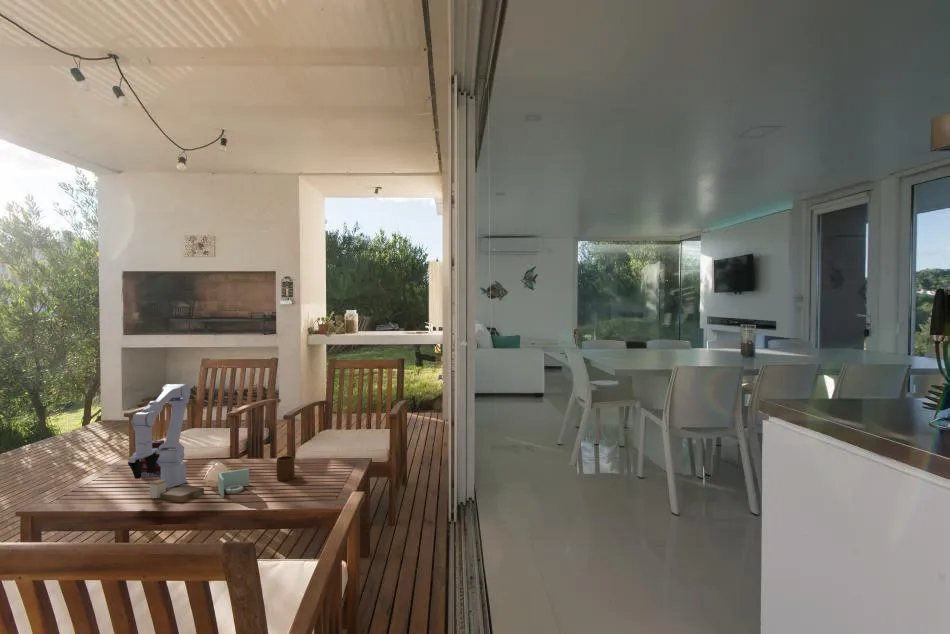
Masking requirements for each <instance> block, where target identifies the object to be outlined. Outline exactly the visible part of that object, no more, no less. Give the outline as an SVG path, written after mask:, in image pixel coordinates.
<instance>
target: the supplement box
mask: <svg viewBox="0 0 950 634" xmlns="http://www.w3.org/2000/svg"><path fill="white" fill-rule="evenodd" d="M164 442H165V440H163V439H162V440H152V449H153V448H158V449H159V446H160V445H162V444H163V443H164ZM140 461H144V464H143V467H142V475H141V478H150V477H151V478H155V476H156V477H161V466H159V464H158V463H157V462H156V465H155V469H154V473H148V472H147V465H146V461H145V458H142V459H140Z"/></svg>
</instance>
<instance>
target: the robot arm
mask: <svg viewBox="0 0 950 634" xmlns="http://www.w3.org/2000/svg"><path fill="white" fill-rule="evenodd" d="M191 391H192V390H191V387H190V385H189V384H188V383H180V384H179V383H175V384H174V383H172V384H168V383H166V384H164V385H163V386H162V388H161V393H160V394H159V396H158V397H156V399H155V400H150V401H149V402H148V404H147V405H146V406H145V407H144V408H143V409H142V410H141V411H139V412H136V413H134V414H133V416H132V418H131V426H132V428H133V431H134V433H135V435H134V440H135V445H134V446H135V452H133V453H132V455H131V456H130V457H128V461H127V465H128V466H129V467H130V469H131V471H132V474H133V477H134V479H135V480H140V479H142V477H141V475H142V467H143V464H144V461H141V459H142V458H145V461H146V465H147V472H148V473H154V469H155V465H156V462H157V463H158V464H159V466H161V476H160V480H166V489H171V488H174V487H177V486H180V485H182V484H183V485H184V484H185V483H188V480H187V467H186V464H185V463H184V462H183V461H184V459H185V446H184V445H183V444H182V443H180V439H181V433H182V428H183V422H184V417H185V411H186V407H187V404H189V401H190V397H191ZM166 403H168V404H169V405H171V407H172V409H171V414H170V419H169V423H168V428H167V434H166V438H165V441H164V443H163V444H162V445H160V446H159V449H158V448H153V449H152V441H153V428H152V427H153V426H154V424H155V422H156V420H157V416H159V414H161V412H163V409H164V407H163V406H165V404H166Z"/></svg>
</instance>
